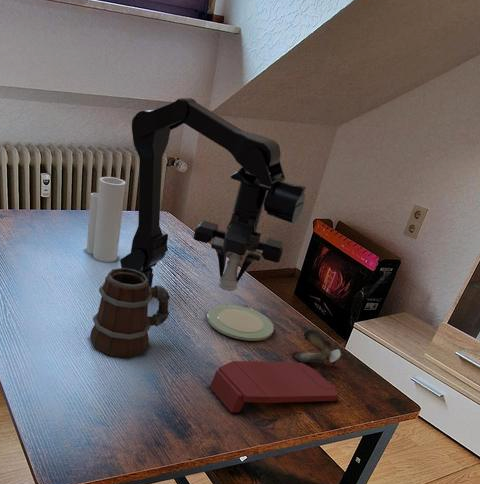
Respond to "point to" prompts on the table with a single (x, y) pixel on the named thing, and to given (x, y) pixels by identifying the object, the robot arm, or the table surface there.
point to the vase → (105, 219)
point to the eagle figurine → (321, 344)
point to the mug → (126, 313)
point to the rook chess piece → (230, 273)
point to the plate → (240, 322)
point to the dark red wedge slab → (269, 383)
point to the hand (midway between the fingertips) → (229, 278)
